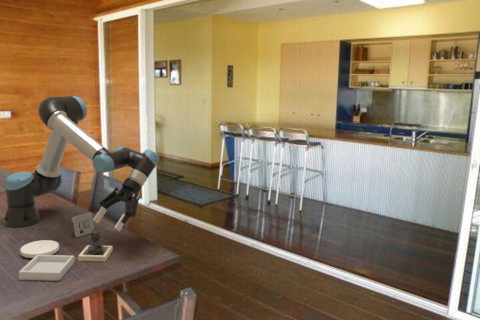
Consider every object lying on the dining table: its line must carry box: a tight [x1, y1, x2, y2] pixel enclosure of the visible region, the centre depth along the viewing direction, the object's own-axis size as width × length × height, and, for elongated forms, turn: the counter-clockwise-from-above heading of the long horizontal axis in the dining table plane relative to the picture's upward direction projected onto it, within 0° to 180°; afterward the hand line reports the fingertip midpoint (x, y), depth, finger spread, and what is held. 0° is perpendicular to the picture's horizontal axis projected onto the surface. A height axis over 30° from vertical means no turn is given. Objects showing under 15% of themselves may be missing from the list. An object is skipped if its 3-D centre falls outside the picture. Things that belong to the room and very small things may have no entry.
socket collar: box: [77, 244, 114, 262], centre depth 164 cm, size 10×10×2 cm
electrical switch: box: [70, 212, 95, 238], centre depth 185 cm, size 9×5×9 cm, turn 141°
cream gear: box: [19, 239, 60, 259], centre depth 165 cm, size 14×14×2 cm
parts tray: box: [18, 254, 75, 282], centre depth 150 cm, size 14×14×3 cm
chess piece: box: [88, 227, 105, 255], centre depth 163 cm, size 6×6×12 cm
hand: (105, 225), depth 165 cm, fingers open, 13 cm apart
